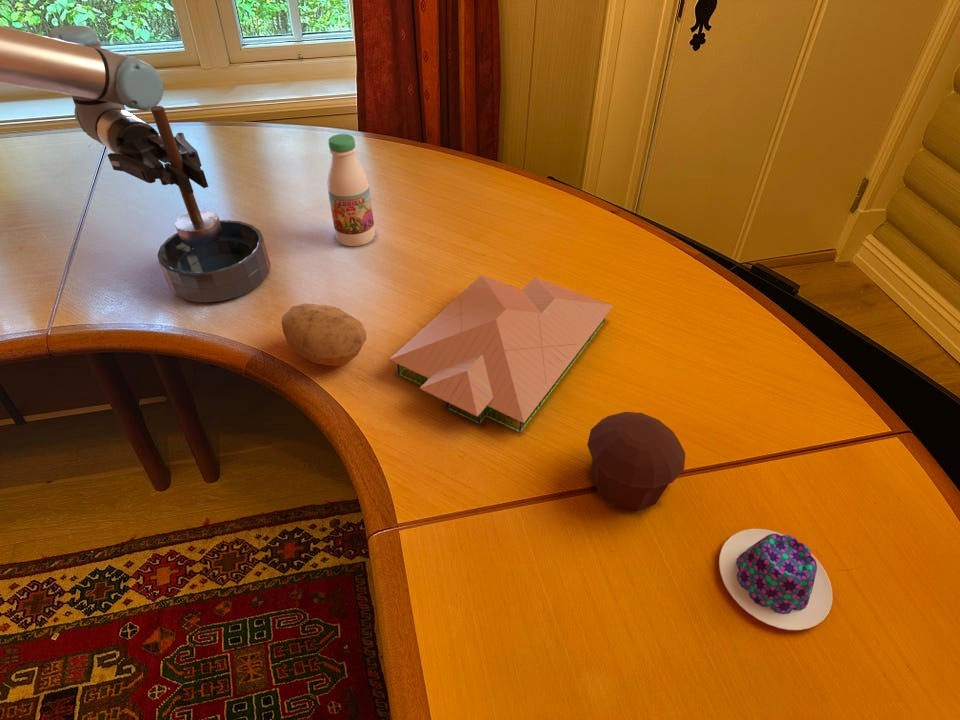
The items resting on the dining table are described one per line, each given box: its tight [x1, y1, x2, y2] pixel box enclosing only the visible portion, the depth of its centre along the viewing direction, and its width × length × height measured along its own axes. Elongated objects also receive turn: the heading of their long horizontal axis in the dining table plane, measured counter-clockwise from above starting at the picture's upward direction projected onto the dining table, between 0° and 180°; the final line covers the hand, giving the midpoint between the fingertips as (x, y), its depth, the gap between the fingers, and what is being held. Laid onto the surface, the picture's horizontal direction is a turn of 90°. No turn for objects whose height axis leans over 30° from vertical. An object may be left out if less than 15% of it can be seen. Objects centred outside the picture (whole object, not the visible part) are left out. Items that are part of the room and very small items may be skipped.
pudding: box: [718, 528, 833, 631], centre depth 66 cm, size 12×12×5 cm
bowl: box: [157, 219, 272, 303], centre depth 108 cm, size 17×17×6 cm
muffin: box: [586, 411, 686, 512], centre depth 75 cm, size 12×11×10 cm
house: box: [388, 274, 615, 433], centre depth 93 cm, size 23×33×8 cm
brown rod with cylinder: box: [150, 105, 223, 246], centre depth 98 cm, size 7×7×22 cm
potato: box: [281, 303, 367, 367], centre depth 92 cm, size 10×14×8 cm
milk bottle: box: [326, 133, 376, 247], centre depth 113 cm, size 8×8×20 cm
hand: (196, 182), depth 95 cm, fingers closed on brown rod with cylinder, 2 cm apart
